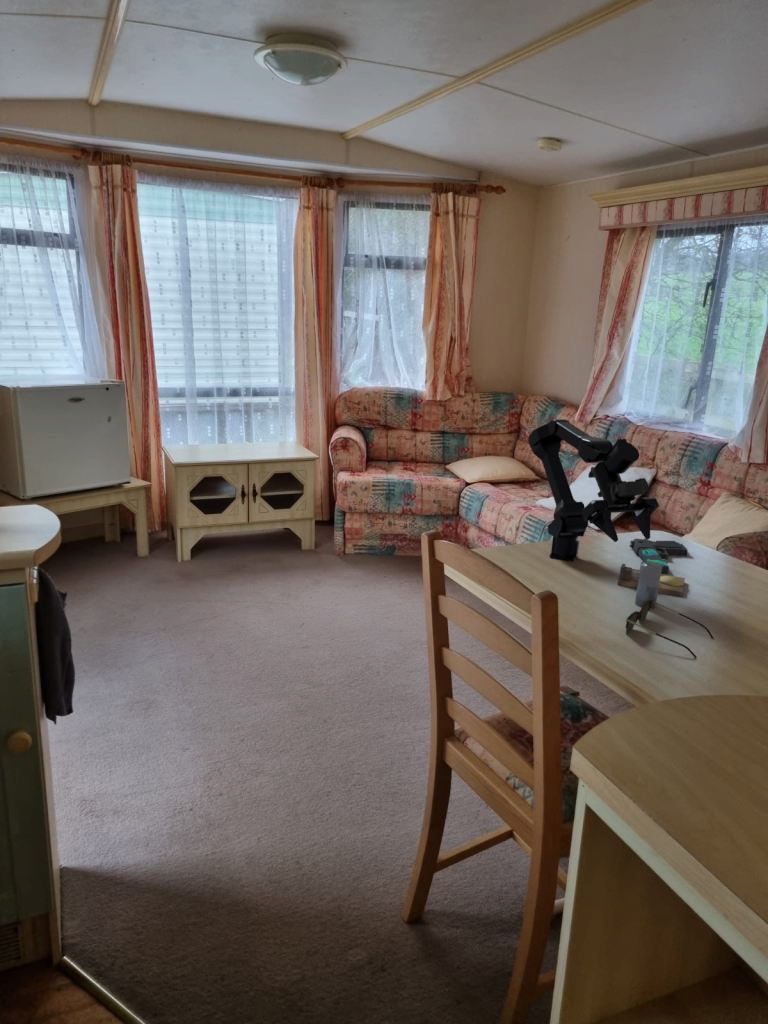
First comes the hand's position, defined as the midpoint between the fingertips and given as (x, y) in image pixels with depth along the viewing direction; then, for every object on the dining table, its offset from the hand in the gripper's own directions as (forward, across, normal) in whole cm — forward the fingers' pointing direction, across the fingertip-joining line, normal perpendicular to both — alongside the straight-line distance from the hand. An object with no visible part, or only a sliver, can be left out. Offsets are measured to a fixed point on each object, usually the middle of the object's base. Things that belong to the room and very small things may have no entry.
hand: (632, 539), depth 169 cm
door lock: (+7, +11, +12) cm, 18 cm away
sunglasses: (+27, -6, -7) cm, 28 cm away
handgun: (-3, +27, +23) cm, 36 cm away
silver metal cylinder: (+15, 0, +4) cm, 15 cm away
